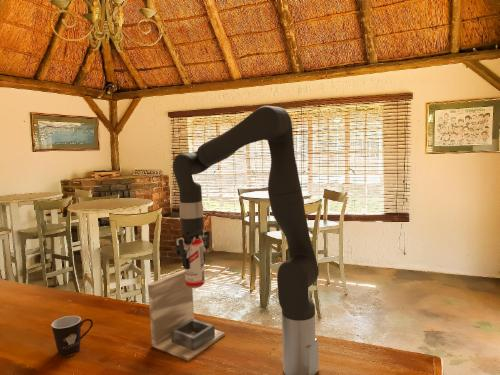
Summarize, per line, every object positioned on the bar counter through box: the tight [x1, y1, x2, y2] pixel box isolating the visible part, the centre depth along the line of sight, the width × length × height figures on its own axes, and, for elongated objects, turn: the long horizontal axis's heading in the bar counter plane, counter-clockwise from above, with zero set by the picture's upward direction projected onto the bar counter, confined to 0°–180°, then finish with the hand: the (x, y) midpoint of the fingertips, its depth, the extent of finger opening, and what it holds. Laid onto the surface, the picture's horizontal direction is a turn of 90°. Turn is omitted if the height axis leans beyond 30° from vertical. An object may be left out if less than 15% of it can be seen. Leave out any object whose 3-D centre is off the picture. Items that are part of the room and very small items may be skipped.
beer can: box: [183, 237, 206, 289], centre depth 128 cm, size 6×6×16 cm
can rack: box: [147, 268, 226, 362], centre depth 129 cm, size 16×18×21 cm
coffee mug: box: [50, 315, 94, 357], centre depth 126 cm, size 12×9×10 cm
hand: (194, 265), depth 128 cm, fingers closed on beer can, 6 cm apart
